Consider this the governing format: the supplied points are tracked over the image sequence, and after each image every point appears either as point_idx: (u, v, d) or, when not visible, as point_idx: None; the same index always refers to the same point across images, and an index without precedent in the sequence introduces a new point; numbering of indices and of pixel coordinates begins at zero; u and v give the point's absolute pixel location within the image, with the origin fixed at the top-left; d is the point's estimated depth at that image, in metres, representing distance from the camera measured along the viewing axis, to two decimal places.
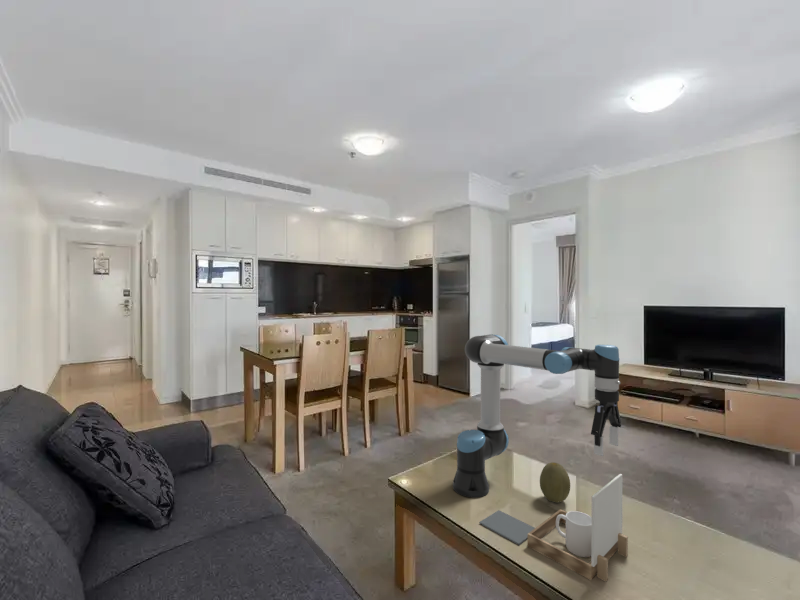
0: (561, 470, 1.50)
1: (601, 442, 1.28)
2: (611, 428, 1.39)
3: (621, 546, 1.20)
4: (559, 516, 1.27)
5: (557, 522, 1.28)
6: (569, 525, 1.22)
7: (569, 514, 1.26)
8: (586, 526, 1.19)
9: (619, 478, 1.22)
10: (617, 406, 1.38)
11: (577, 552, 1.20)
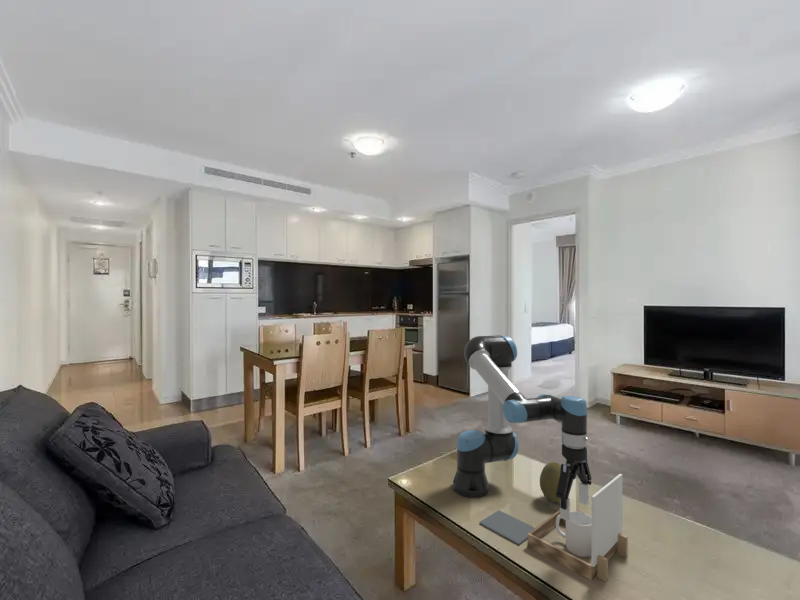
0: None
1: (567, 505, 1.19)
2: (581, 485, 1.29)
3: (621, 546, 1.20)
4: (559, 516, 1.27)
5: (557, 522, 1.28)
6: (569, 525, 1.22)
7: None
8: (586, 526, 1.19)
9: (619, 478, 1.22)
10: None
11: (577, 552, 1.20)
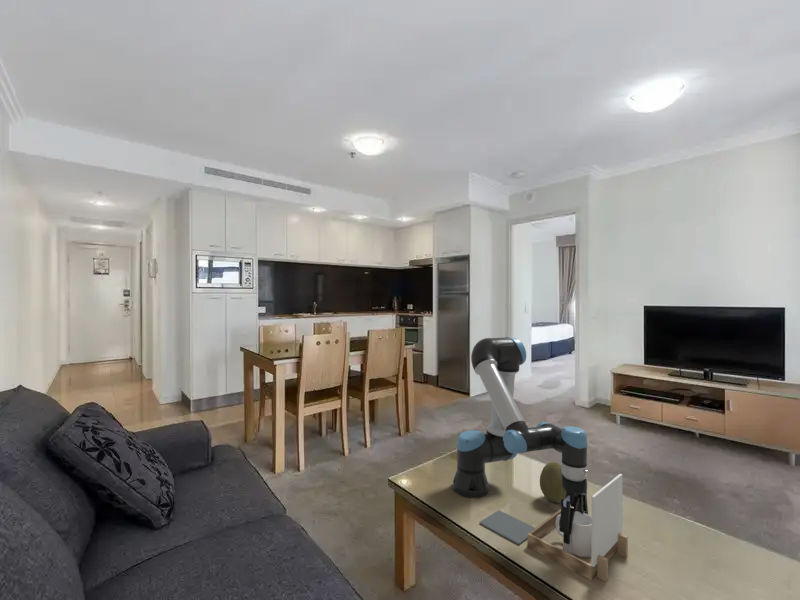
0: (561, 470, 1.50)
1: (570, 539, 1.20)
2: None
3: (621, 546, 1.20)
4: (559, 516, 1.27)
5: (557, 522, 1.28)
6: None
7: None
8: (586, 526, 1.19)
9: (619, 478, 1.22)
10: (586, 496, 1.28)
11: (577, 552, 1.20)
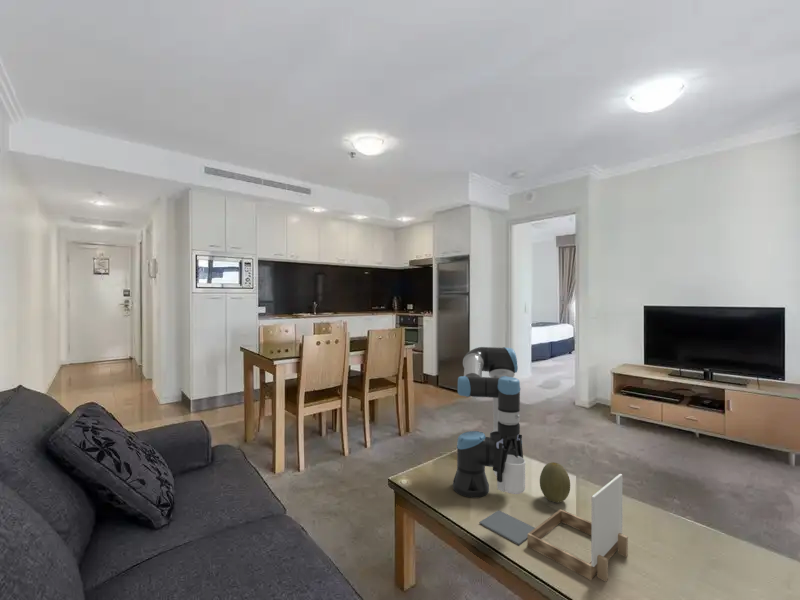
0: (561, 470, 1.50)
1: (503, 478, 1.31)
2: None
3: (621, 546, 1.20)
4: None
5: None
6: None
7: None
8: (516, 465, 1.29)
9: (619, 478, 1.22)
10: (521, 441, 1.38)
11: (508, 489, 1.30)
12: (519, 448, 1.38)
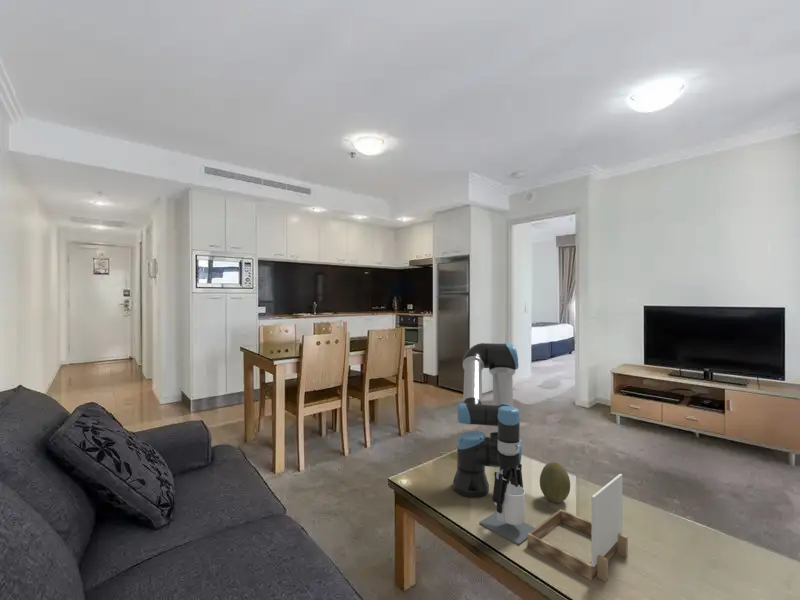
0: (561, 470, 1.50)
1: (502, 509, 1.31)
2: None
3: (621, 546, 1.20)
4: None
5: None
6: None
7: None
8: (516, 496, 1.29)
9: (619, 478, 1.22)
10: None
11: (508, 520, 1.30)
12: (519, 477, 1.38)
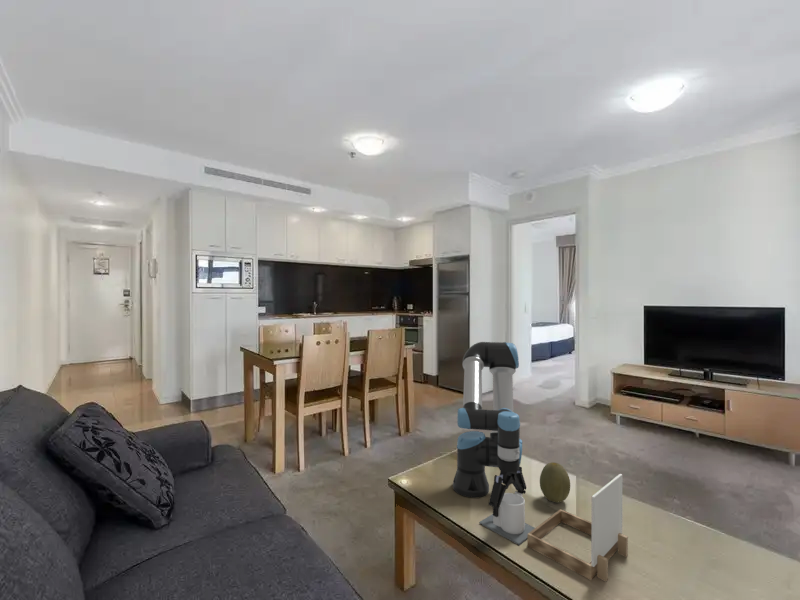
0: (561, 470, 1.50)
1: (499, 513, 1.29)
2: None
3: (621, 546, 1.20)
4: None
5: None
6: (502, 505, 1.32)
7: (504, 495, 1.37)
8: (516, 505, 1.29)
9: (619, 478, 1.22)
10: (521, 472, 1.38)
11: (508, 529, 1.30)
12: (521, 479, 1.39)
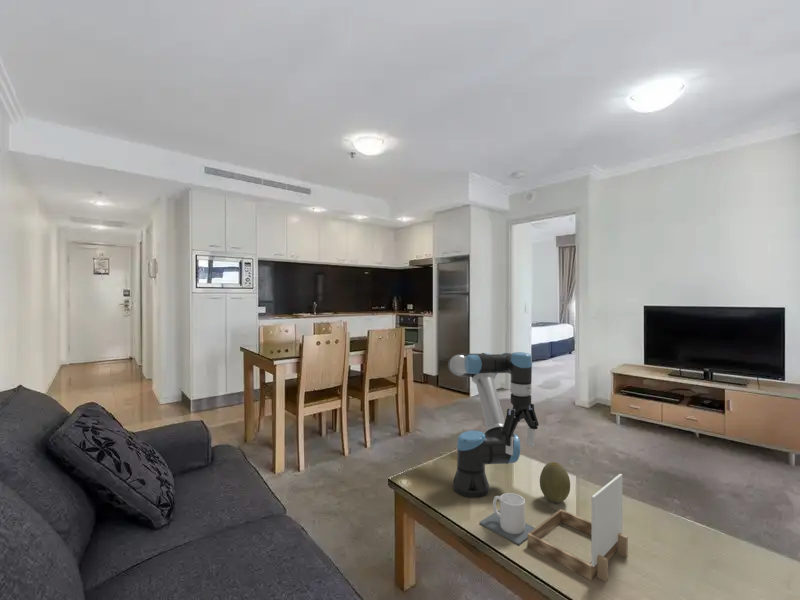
0: (561, 470, 1.50)
1: (511, 442, 1.40)
2: (528, 430, 1.49)
3: (621, 546, 1.20)
4: (495, 497, 1.38)
5: (494, 503, 1.38)
6: (502, 505, 1.32)
7: (504, 496, 1.37)
8: (516, 505, 1.29)
9: (619, 478, 1.22)
10: (533, 409, 1.48)
11: (508, 529, 1.30)
12: (533, 416, 1.48)
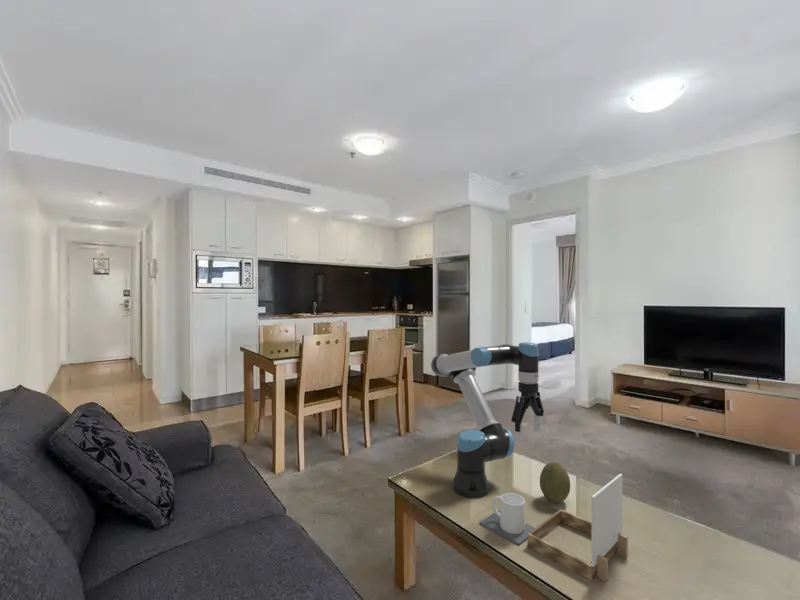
0: (561, 470, 1.50)
1: (520, 428, 1.46)
2: (535, 417, 1.56)
3: (621, 546, 1.20)
4: (495, 497, 1.38)
5: (494, 503, 1.38)
6: (502, 505, 1.32)
7: (504, 496, 1.37)
8: (516, 505, 1.29)
9: (619, 478, 1.22)
10: (539, 397, 1.55)
11: (508, 529, 1.30)
12: (539, 403, 1.55)
